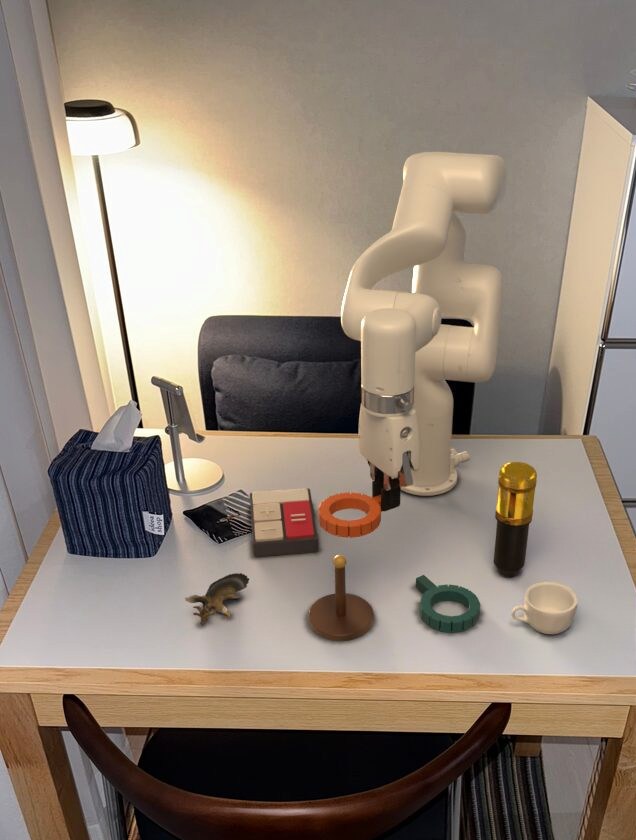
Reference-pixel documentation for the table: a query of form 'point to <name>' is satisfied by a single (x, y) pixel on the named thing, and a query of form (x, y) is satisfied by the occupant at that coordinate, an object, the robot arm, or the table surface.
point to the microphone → (513, 516)
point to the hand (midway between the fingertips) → (386, 504)
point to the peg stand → (340, 610)
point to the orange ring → (353, 526)
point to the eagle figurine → (219, 595)
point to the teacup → (548, 607)
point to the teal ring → (444, 593)
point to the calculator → (283, 522)
